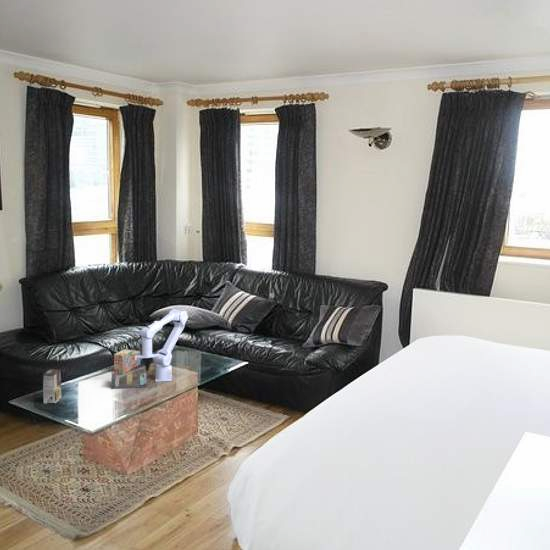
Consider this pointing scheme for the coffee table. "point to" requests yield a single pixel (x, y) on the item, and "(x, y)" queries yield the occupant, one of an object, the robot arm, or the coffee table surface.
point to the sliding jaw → (143, 378)
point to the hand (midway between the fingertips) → (147, 370)
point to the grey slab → (125, 383)
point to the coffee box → (52, 386)
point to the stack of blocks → (125, 361)
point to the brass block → (129, 379)
